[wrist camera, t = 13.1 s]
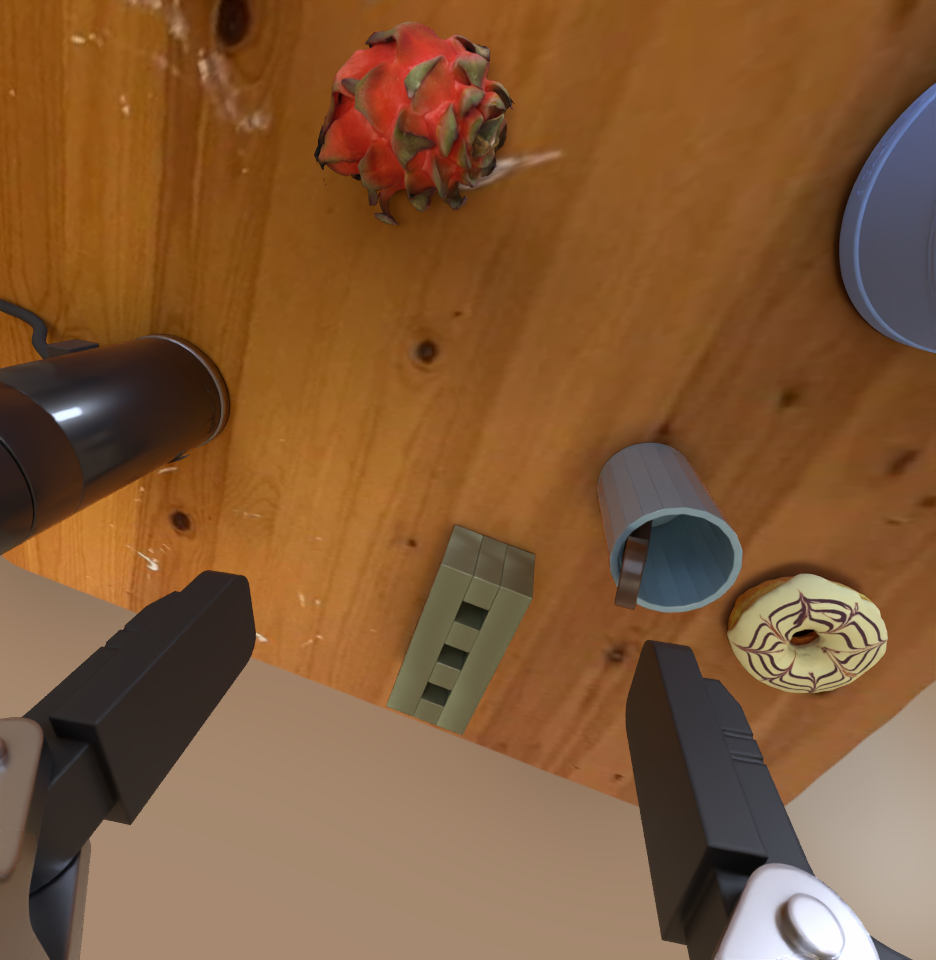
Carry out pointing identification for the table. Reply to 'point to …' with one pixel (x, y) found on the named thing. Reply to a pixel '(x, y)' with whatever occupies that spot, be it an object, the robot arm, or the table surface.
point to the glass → (667, 527)
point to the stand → (463, 629)
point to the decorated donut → (817, 655)
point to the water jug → (896, 230)
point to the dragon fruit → (414, 117)
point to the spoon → (633, 566)
